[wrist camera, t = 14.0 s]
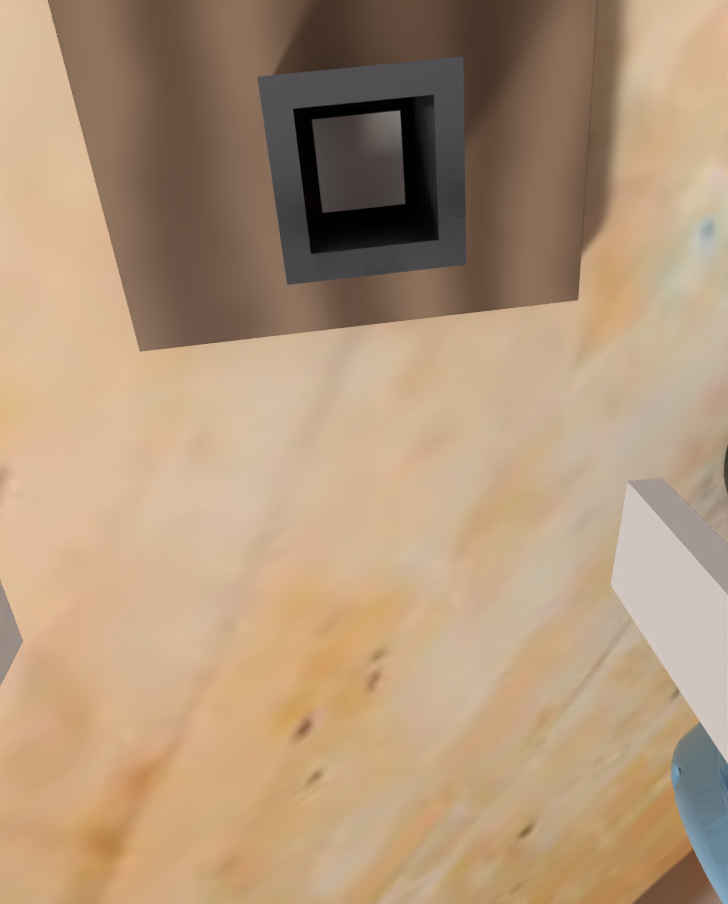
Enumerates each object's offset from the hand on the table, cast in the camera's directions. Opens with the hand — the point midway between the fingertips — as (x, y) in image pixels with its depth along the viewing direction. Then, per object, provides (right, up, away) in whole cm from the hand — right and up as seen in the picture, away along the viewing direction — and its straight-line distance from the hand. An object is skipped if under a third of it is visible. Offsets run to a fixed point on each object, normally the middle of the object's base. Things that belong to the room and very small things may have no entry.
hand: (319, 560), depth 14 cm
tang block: (0, +17, +18) cm, 25 cm away
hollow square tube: (0, +15, +15) cm, 22 cm away
